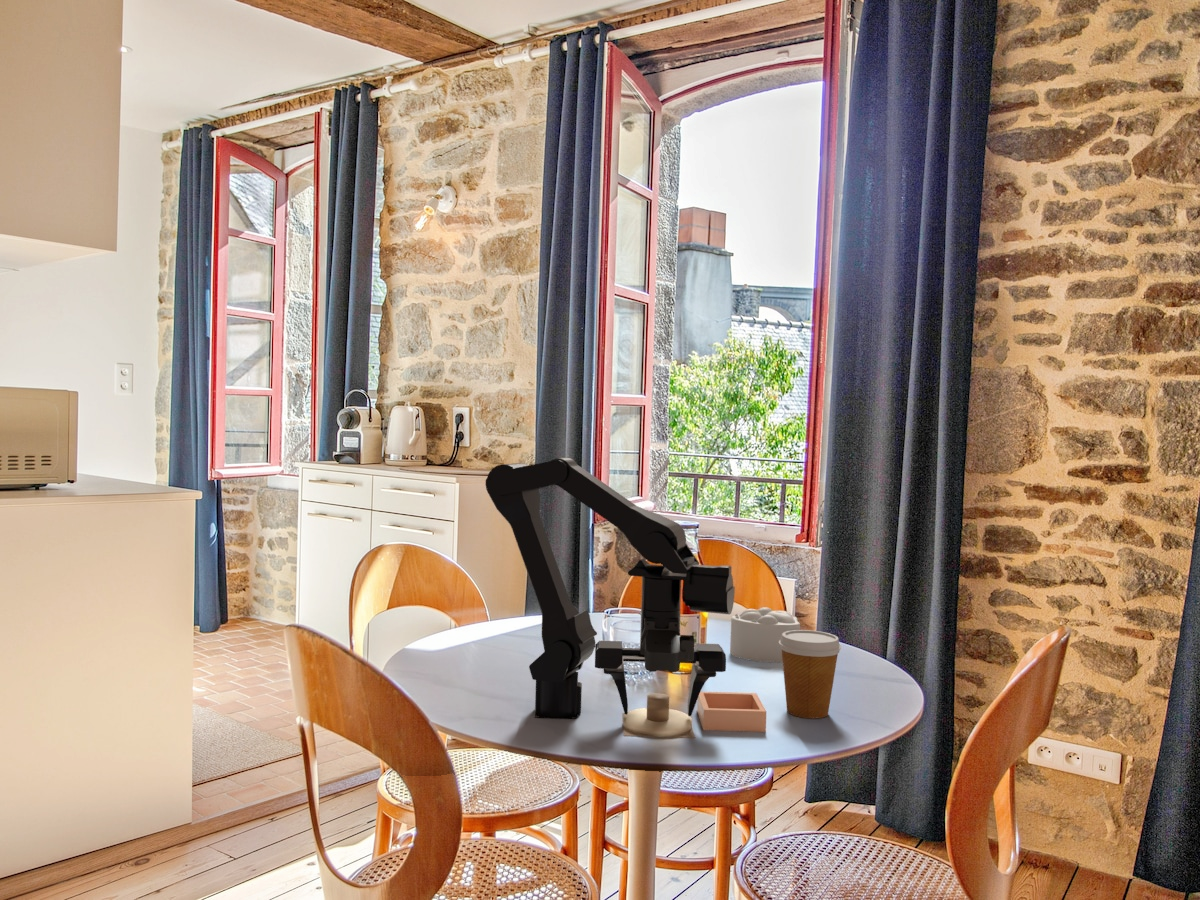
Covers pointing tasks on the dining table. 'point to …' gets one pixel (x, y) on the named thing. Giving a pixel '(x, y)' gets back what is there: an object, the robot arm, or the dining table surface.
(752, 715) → the dish
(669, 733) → the lid
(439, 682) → the dining table surface
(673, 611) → the robot arm
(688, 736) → the mat
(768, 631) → the lumpy-topped squat cylinder
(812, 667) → the disposable coffee cup
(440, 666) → the dining table surface
